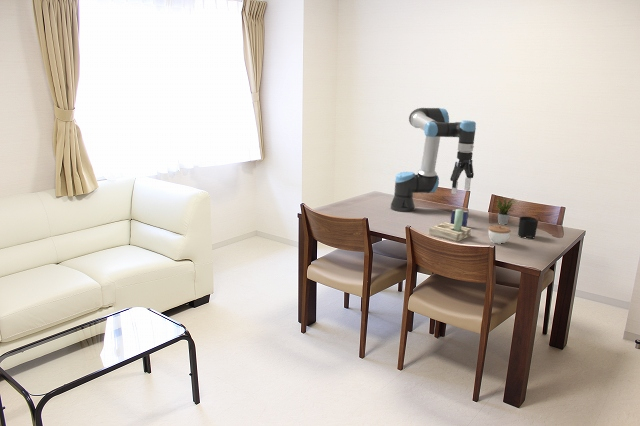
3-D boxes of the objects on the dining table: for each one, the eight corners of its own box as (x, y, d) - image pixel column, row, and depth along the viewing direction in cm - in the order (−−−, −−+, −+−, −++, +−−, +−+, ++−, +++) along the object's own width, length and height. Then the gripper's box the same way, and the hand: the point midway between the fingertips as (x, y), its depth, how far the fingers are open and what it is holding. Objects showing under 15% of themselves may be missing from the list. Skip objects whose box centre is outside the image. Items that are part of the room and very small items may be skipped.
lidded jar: (483, 239, 272) (486, 222, 269) (503, 239, 273) (505, 222, 270) (492, 245, 262) (494, 228, 259) (512, 245, 263) (514, 228, 260)
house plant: (518, 222, 305) (522, 195, 301) (516, 228, 293) (520, 200, 288) (493, 218, 311) (497, 192, 306) (490, 224, 299) (494, 197, 294)
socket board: (444, 229, 287) (445, 222, 286) (470, 235, 276) (471, 228, 275) (429, 234, 276) (429, 227, 275) (455, 242, 265) (456, 234, 264)
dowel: (455, 233, 276) (458, 208, 272) (462, 235, 273) (464, 210, 269) (451, 235, 273) (454, 209, 269) (458, 237, 270) (461, 211, 267)
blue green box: (466, 226, 294) (468, 208, 291) (466, 227, 291) (468, 209, 289) (450, 224, 297) (452, 206, 294) (450, 225, 294) (451, 207, 291)
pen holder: (514, 236, 278) (516, 218, 276) (521, 232, 285) (523, 215, 282) (531, 240, 272) (534, 222, 270) (538, 236, 279) (541, 219, 276)
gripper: (459, 154, 250) (454, 196, 256) (483, 150, 268) (478, 189, 274) (446, 152, 255) (441, 194, 261) (470, 148, 273) (465, 187, 279)
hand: (460, 191), depth 268 cm, fingers open, 13 cm apart
